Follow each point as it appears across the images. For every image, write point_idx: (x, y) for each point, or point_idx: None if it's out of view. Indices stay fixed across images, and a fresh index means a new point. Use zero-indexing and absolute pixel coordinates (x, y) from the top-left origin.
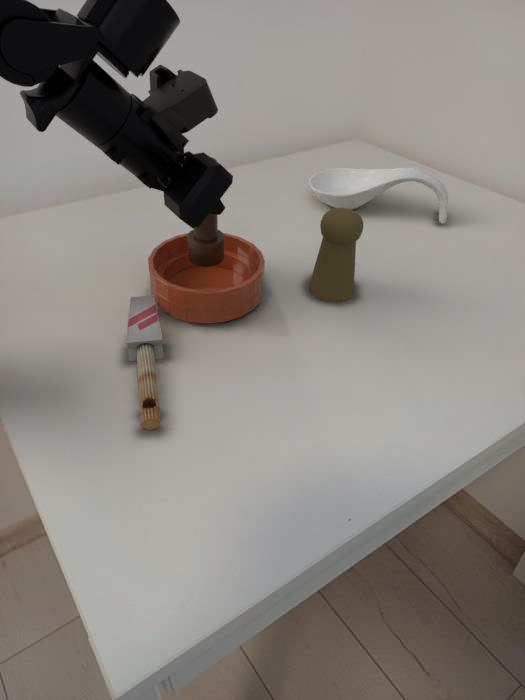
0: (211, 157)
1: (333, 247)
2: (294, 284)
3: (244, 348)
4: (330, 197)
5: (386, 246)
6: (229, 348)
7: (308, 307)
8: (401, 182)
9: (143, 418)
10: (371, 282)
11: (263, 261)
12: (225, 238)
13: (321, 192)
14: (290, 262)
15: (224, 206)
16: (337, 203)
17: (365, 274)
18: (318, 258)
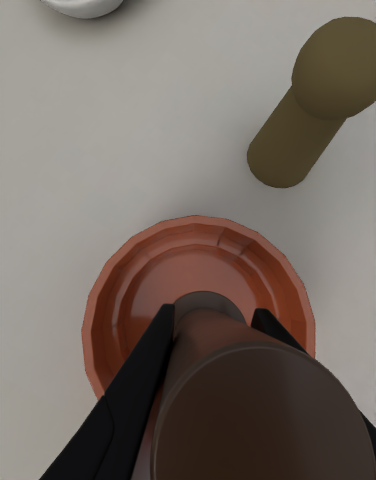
0: (224, 356)
1: (340, 122)
2: (243, 193)
3: (340, 346)
4: (103, 2)
5: (229, 31)
6: (331, 366)
7: (300, 211)
8: None
9: None
10: None
11: (259, 235)
12: (140, 244)
13: (84, 2)
14: (192, 162)
15: (270, 312)
16: (114, 5)
17: (272, 98)
18: (293, 149)
